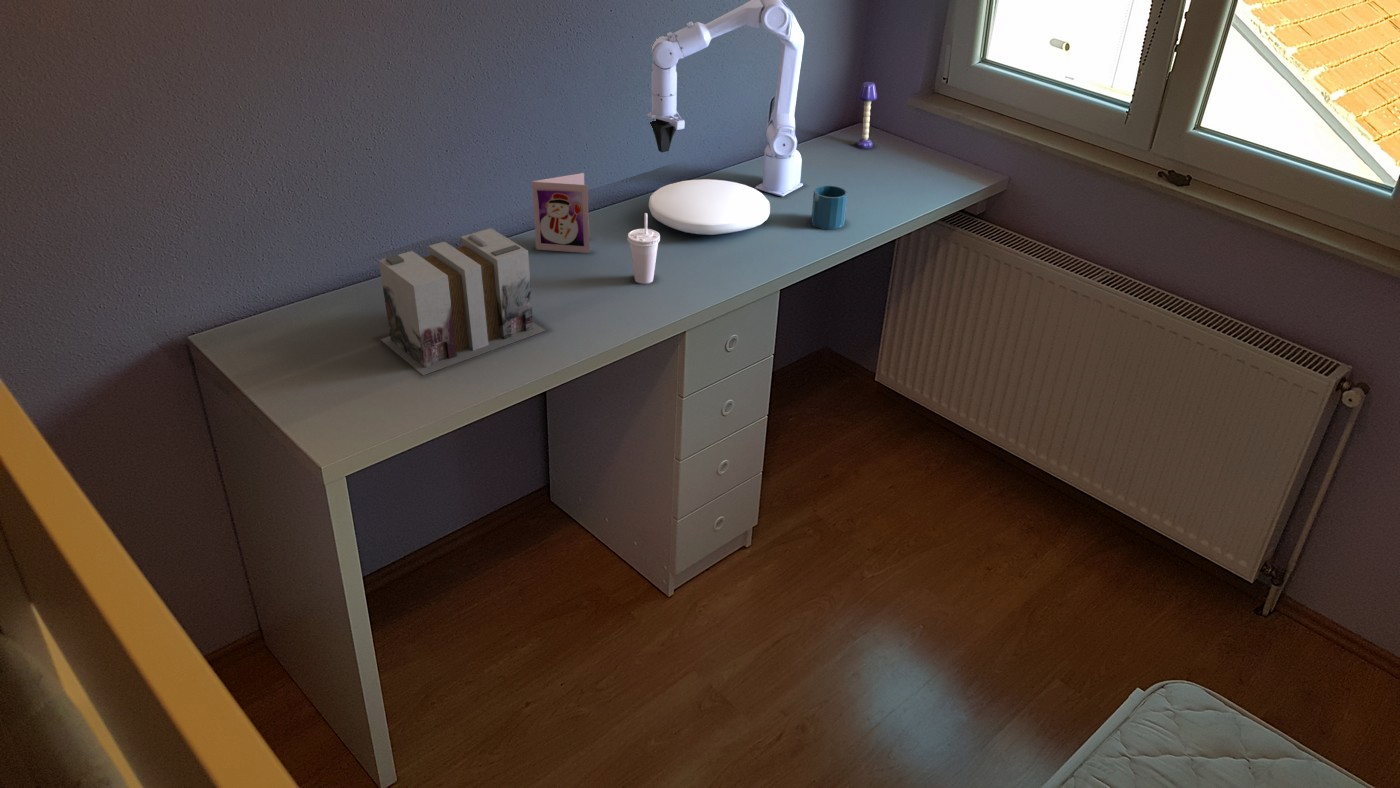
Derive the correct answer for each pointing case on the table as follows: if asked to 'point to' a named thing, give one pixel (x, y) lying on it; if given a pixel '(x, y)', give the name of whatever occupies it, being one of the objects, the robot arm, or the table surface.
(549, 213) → the greeting card
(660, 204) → the white round cushion
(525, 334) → the model building
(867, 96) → the toy lamp
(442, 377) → the table surface
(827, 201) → the teacup
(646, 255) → the smoothie
